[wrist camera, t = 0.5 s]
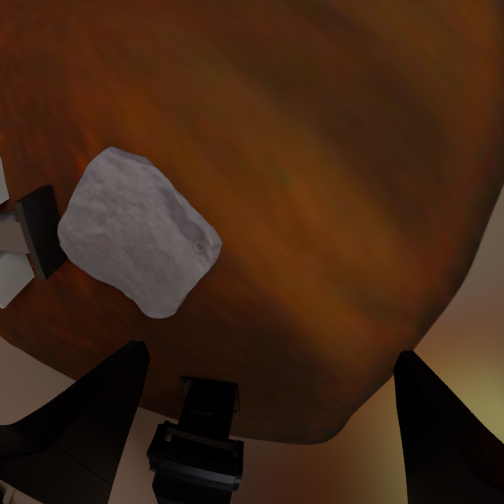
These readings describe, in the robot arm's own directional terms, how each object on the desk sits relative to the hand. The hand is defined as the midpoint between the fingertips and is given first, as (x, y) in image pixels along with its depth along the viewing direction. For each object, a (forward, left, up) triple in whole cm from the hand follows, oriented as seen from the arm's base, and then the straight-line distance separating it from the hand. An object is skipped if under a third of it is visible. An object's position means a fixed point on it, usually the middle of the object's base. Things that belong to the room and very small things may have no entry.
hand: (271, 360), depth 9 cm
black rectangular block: (-1, +23, -11) cm, 26 cm away
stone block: (-1, +10, -13) cm, 16 cm away
